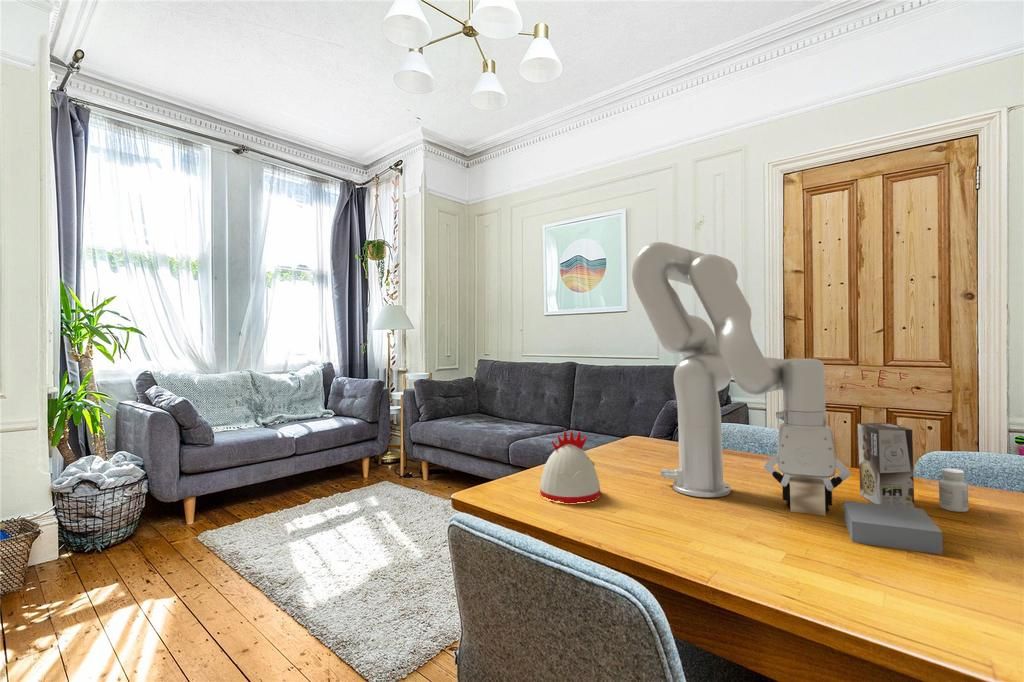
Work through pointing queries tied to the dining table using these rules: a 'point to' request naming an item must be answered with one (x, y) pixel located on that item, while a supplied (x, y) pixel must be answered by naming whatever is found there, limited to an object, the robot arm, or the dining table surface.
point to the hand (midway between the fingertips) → (806, 505)
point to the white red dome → (570, 473)
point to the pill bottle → (953, 491)
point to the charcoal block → (892, 527)
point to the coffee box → (886, 464)
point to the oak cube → (807, 494)
